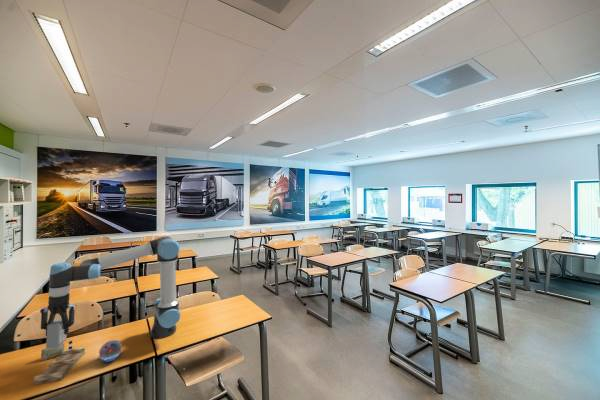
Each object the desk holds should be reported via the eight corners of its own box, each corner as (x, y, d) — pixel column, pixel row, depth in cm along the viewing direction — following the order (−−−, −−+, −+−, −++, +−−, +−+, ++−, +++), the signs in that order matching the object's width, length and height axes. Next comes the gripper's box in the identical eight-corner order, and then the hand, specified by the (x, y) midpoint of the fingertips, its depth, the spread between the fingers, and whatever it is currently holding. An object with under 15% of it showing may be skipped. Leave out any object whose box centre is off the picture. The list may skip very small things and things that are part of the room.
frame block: (66, 339, 126) (68, 317, 127) (58, 346, 120) (59, 324, 120) (55, 340, 125) (56, 318, 125) (46, 348, 118) (47, 325, 119)
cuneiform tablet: (71, 354, 138) (41, 363, 129) (70, 352, 141) (40, 361, 132) (72, 340, 139) (41, 349, 130) (71, 339, 142) (41, 347, 133)
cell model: (98, 369, 126) (99, 350, 127) (98, 357, 136) (99, 340, 136) (122, 361, 133) (123, 344, 133) (121, 351, 142) (121, 334, 142)
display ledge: (84, 353, 139) (85, 347, 139) (60, 380, 118) (60, 373, 118) (63, 356, 136) (63, 350, 136) (34, 384, 115) (34, 377, 115)
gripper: (84, 290, 129) (82, 335, 129) (42, 293, 124) (39, 339, 123) (76, 295, 122) (74, 343, 122) (31, 298, 117) (28, 348, 116)
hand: (56, 341), depth 122 cm, fingers closed on frame block, 5 cm apart
